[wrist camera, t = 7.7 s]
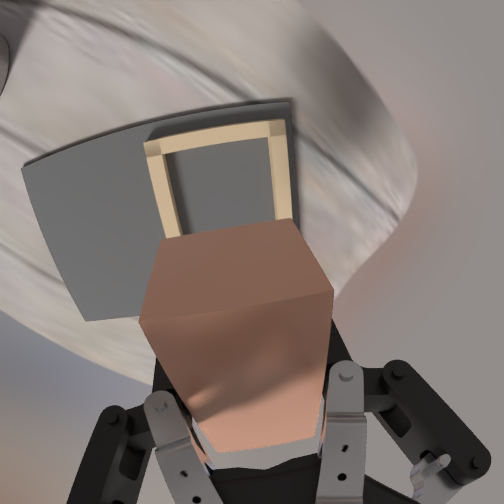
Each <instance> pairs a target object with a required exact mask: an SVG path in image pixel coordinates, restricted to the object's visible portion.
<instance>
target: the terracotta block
mask: <svg viewBox="0 0 504 504" xmlns="http://www.w3.org/2000/svg"><path fill="white" fill-rule="evenodd" d="M333 298H334V289H333V287H332V285H331V284H330V282H329V280H328V278H327V277H326V275H325V273H324V272H323V270H322V268H321V266H320V265H319V263H318V261H317V260H316V258H315V256H314V255H313V253H312V251H311V250H310V248H309V246H308V245H307V243H306V241H305V240H304V238H303V237H302V235H301V233H300V232H299V230H298V228H297V227H296V225H295V224H294V222H293V220H292V219H291V218H286V219H279V220H273V221H266V222H260V223H254V224H247V225H241V226H235V227H229V228H223V229H217V230H211V231H205V232H199V233H194V234H188V235H182V236H177V237H171V238H166V239H161V242H160V245H159V248H158V252H157V255H156V258H155V262H154V265H153V268H152V272H151V276H150V279H149V283H148V286H147V290H146V294H145V298H144V302H143V305H142V309H141V313H140V318H139V324H140V326H141V328H142V330H143V332H144V334H145V336H146V338H147V340H148V342H149V344H150V346H151V347H152V349H153V351H154V353H155V355H156V357H157V359H158V360H159V362H160V364H161V366H162V368H163V369H164V371H165V373H166V375H167V376H168V378H169V380H170V381H171V383H172V385H173V386H174V388H175V390H176V391H177V393H178V395H179V396H180V398H181V399H182V401H183V403H184V404H185V406H186V407H187V409H188V410H189V412H190V413H191V415H192V417H193V418H194V419H195V421H196V422H197V424H198V425H199V427H200V428H201V430H202V431H203V433H204V434H205V435H206V437H207V438H208V440H209V441H210V442H211V444H212V445H213V446H214V448H215V449H216V451H217V452H218V453H221V452H231V451H240V450H247V449H254V448H261V447H267V446H273V445H278V444H284V443H288V442H293V441H298V440H302V439H306V438H311V437H314V435H315V430H316V425H317V420H318V414H319V408H320V403H321V396H322V391H323V384H324V377H325V370H326V363H327V356H328V347H329V339H330V330H331V320H332V310H333Z"/></svg>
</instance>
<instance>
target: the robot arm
mask: <svg viewBox="0 0 504 504" xmlns="http://www.w3.org/2000/svg"><path fill="white" fill-rule="evenodd" d="M8 67H9V48H8V45H7V42H6V40H5V39H4V37H3V36H1V35H0V94H1V92H2V89H3V86H4V84H5V80H6V77H7V73H8ZM322 395H323V398H324V410H323V419H322V427H321V436H320V443H319V449H318V454H317V453H315V454H311V455H307V456H302V457H298V458H293V459H290V460H288V461H286V462H284V463H281V464H279V465H277V466H274V467H272V468H269V469H266V470H261V469H248V468H239V467H238V468H227V469H216V468H215V466H214V465H213V463H212V462H211V460H210V459H209V457H208V455H207V453H206V451H205V449H204V447H203V445H202V443H201V441H200V439H199V437H198V435H197V433H196V430H195V428H194V426H193V424H192V415H191V413H190V412H189V410H188V409H187V407H186V406H185V404H184V403H183V401H182V399H181V398H180V396H179V395H178V393H177V391H176V390H175V388H174V386H173V385H172V383H171V381H170V380H169V378H168V376H167V375H166V373H165V371H164V369H163V368H162V366H161V364H160V362H159V360H158V359H157V357H156V364H155V371H154V380H153V389H152V393H151V394H150V395H149V396H148V397H147V398H146V400H145V402H144V403H143V404H142V405H140V406H137V407H134V408H131V409H128V410H125V409H123V408H122V407H120V406H117V405H113V406H109V407H107V408H106V409H104V410H103V411H102V413H101V414H100V417H99V419H98V421H97V424H96V426H95V428H94V431H93V433H92V436H91V438H90V441H89V443H88V446H87V448H86V451H85V453H84V456H83V459H82V461H81V464H80V467H79V469H78V472H77V475H76V477H75V481H74V483H73V486H72V489H71V492H70V494H69V498H68V500H67V504H136V503H137V500H138V496H139V492H140V488H141V485H142V482H143V478H144V475H145V472H146V468H147V465H148V461H149V458H150V455H151V451H152V448H154V447H157V449H156V450H155V455H156V458H157V461H158V464H159V466H160V469H161V471H162V474H163V476H164V479H165V481H166V483H167V486H168V488H169V490H170V493H171V495H172V497H173V499H174V501H175V504H445V503H446V502H447V501H449V500H450V499H451V498H452V497H453V496H454V495H455V494H456V493H457V492H458V491H459V490H460V489H461V488H462V487H463V486H465V485H467V484H469V483H471V482H473V481H474V480H477V479H478V478H480V477H482V476H483V475H485V474H486V472H487V471H488V470H489V467H490V465H491V455H490V452H489V451H488V450H487V448H486V447H485V446H484V445H483V444H482V443H481V442H480V440H479V439H478V438H477V437H476V436H475V435H474V434H473V432H472V431H471V430H470V429H469V428H468V427H467V426H466V425H465V423H464V422H463V421H462V420H461V419H460V418H459V417H458V416H457V415H456V414H455V412H454V411H453V410H452V409H451V408H450V407H449V406H448V405H447V404H446V403H445V402H444V401H443V400H442V398H441V397H440V396H439V395H438V394H437V393H436V392H435V391H434V390H433V389H432V388H431V387H430V386H429V384H427V382H426V381H425V380H424V379H423V378H422V377H421V376H420V375H419V374H418V373H417V372H416V371H415V370H414V369H413V368H412V367H411V366H410V365H409V364H408V363H407V362H405V361H402V360H392V361H390V362H388V363H387V364H386V365H385V366H384V368H364V367H361V366H359V365H358V364H357V363H355V362H354V361H353V360H352V359H351V357H350V355H349V353H348V351H347V348H346V346H345V344H344V342H343V340H342V338H341V336H340V334H339V332H338V330H337V328H336V325H335V323H334V321H333V319H332V320H331V330H330V339H329V347H328V356H327V363H326V370H325V377H324V384H323V391H322ZM364 412H372V413H373V414H374V416H375V417H376V418H377V419H378V421H379V422H380V423H381V425H382V426H383V427H384V428H385V430H386V431H387V432H388V433H389V435H390V436H391V437H392V439H393V440H394V441H395V442H396V444H397V445H398V446H399V447H400V449H401V450H402V451H403V453H404V454H405V455H406V456H407V458H408V459H409V460H410V461H411V463H412V464H413V465H414V466H413V468H412V470H411V472H410V480H411V482H412V484H413V487H414V493H413V496H412V498H409V497H407V496H405V495H403V494H401V493H399V492H397V491H395V490H393V489H391V488H389V487H387V486H385V485H384V484H382V483H380V482H378V481H376V480H374V479H372V478H371V477H369V476H367V475H365V459H366V437H367V435H366V434H367V419H366V417H365V416H364Z"/></svg>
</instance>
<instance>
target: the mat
mask: <svg viewBox="0 0 504 504" xmlns="http://www.w3.org/2000/svg"><path fill="white" fill-rule="evenodd" d="M21 171H22V175H23V178H24V182H25V185H26V189H27V192H28V195H29V198H30V201H31V204H32V207H33V210H34V213H35V215H36V218H37V221H38V224H39V226H40V229H41V231H42V234H43V236H44V239H45V241H46V244H47V246H48V248H49V251H50V253H51V255H52V257H53V260H54V262H55V264H56V266H57V268H58V270H59V273H60V275H61V277H62V279H63V281H64V283H65V285H66V287H67V289H68V291H69V293H70V294H71V296H72V298H73V300H74V302H75V304H76V306H77V307H78V309H79V311H80V313H81V314H82V316H83V318H84V320H85V321H96V320H105V319H115V318H124V317H132V316H140V313H141V309H142V305H143V302H144V298H145V294H146V290H147V286H148V283H149V279H150V276H151V272H152V268H153V265H154V262H155V258H156V255H157V252H158V248H159V245H160V242H161V239H166V238H171V237H177V236H182V235H188V234H194V233H199V232H205V231H211V230H217V229H223V228H229V227H235V226H241V225H247V224H254V223H260V222H266V221H273V220H279V219H286V218H291V219H292V220H293V222H294V224H295V225H296V227H297V228H298V207H297V189H296V173H295V159H294V146H293V134H292V122H291V112H290V102H277V103H266V104H255V105H246V106H238V107H231V108H224V109H217V110H211V111H205V112H199V113H194V114H189V115H183V116H179V117H174V118H169V119H165V120H160V121H156V122H152V123H148V124H144V125H140V126H136V127H133V128H129V129H125V130H122V131H119V132H115V133H112V134H109V135H105V136H102V137H99V138H96V139H93V140H90V141H87V142H84V143H81V144H79V145H76V146H73V147H71V148H68V149H65V150H63V151H60V152H58V153H55V154H53V155H50V156H48V157H45V158H43V159H41V160H38V161H36V162H34V163H32V164H29V165H27V166H25V167H23V168H21ZM298 230H299V228H298Z"/></svg>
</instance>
